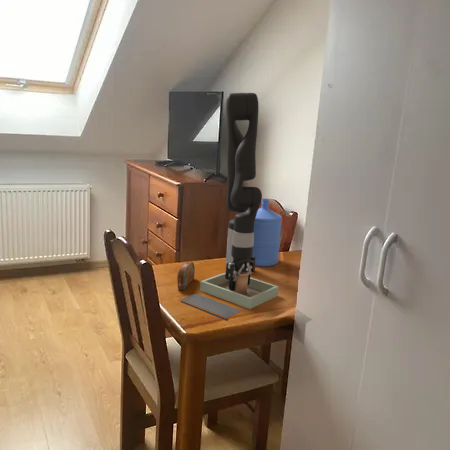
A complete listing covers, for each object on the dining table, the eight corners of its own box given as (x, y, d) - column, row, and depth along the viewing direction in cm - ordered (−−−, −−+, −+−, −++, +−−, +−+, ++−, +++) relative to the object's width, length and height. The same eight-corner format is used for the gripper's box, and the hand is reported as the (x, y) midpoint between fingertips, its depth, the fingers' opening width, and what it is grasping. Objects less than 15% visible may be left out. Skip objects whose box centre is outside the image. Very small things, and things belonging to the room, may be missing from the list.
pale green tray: (229, 281, 185) (230, 270, 183) (277, 298, 171) (278, 286, 170) (199, 293, 171) (200, 281, 170) (249, 311, 158) (250, 299, 157)
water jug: (268, 269, 202) (274, 204, 196) (236, 261, 210) (240, 198, 203) (283, 261, 215) (289, 199, 209) (252, 253, 223) (257, 194, 216)
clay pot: (237, 288, 175) (238, 267, 174) (251, 293, 172) (252, 272, 170) (226, 292, 171) (228, 271, 169) (240, 297, 167) (242, 275, 165)
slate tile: (196, 296, 169) (196, 293, 168) (241, 313, 157) (242, 310, 156) (180, 302, 162) (180, 299, 162) (226, 320, 150) (226, 317, 150)
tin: (183, 294, 169) (184, 271, 167) (175, 293, 170) (176, 270, 168) (194, 280, 184) (196, 259, 182) (187, 279, 184) (188, 258, 182)
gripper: (246, 238, 175) (242, 280, 178) (221, 244, 164) (218, 289, 167) (263, 242, 170) (259, 285, 174) (238, 249, 159) (235, 295, 163)
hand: (239, 287), depth 171 cm, fingers open, 8 cm apart
